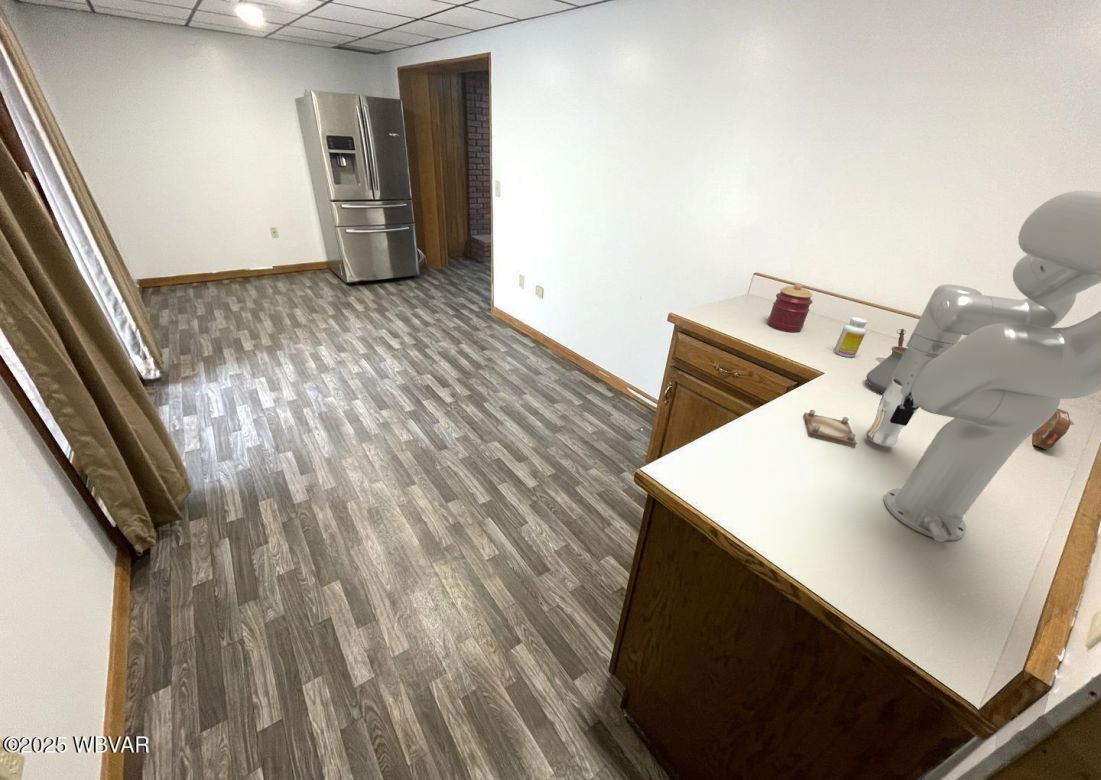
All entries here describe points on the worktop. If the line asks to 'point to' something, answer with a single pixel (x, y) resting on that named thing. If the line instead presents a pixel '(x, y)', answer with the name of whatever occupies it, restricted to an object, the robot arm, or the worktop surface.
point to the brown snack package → (1052, 430)
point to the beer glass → (887, 417)
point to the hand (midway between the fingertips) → (892, 415)
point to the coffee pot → (886, 367)
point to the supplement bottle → (851, 337)
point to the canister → (790, 309)
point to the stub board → (829, 429)
